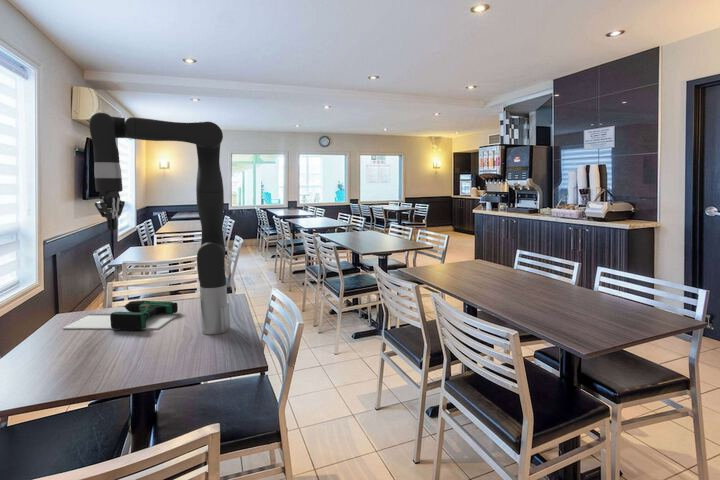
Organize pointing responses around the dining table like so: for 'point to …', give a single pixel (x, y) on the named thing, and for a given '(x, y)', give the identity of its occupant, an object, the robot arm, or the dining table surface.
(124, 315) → the power drill
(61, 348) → the dining table surface
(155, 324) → the mat
